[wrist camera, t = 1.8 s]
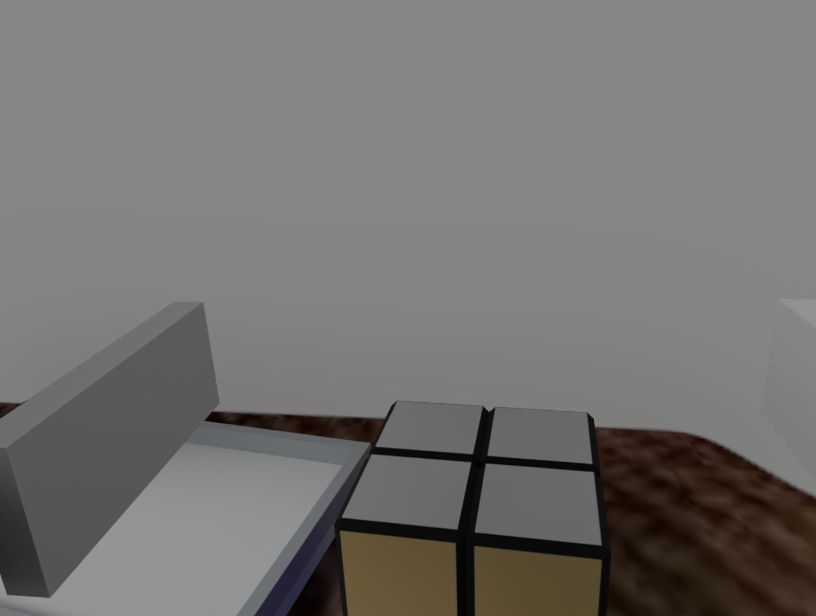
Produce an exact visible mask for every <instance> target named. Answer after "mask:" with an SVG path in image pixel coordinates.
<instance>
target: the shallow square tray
mask: <svg viewBox="0 0 816 616" xmlns="http://www.w3.org/2000/svg"><path fill="white" fill-rule="evenodd" d="M370 449H371V443H366V442H358V441H350V440H343V439H335V438H328V437H320V436H313V435H305V434H298V433H290V432H282V431H275V430H267V429H260V428H252V427H245V426H237V425H230V424H222V423H214V422H207V421H203V422H202V424H201V425H200V426H199V427H198V428H197V429H196V430H195V432H194V433H193V434H192V435H191V436H190V437H189V439H188V440H187V441H186V442H185V443H184V444H183V445H182V447H181V448H180V449H179V450H178V451H177V452H176V454H175V455H174V456H173V457H172V458H171V459H170V460H169V462H168V463H167V464H166V465H165V466H164V467H163V469H162V470H161V471H160V472H159V473H158V474H157V475H156V477H155V478H154V479H153V480H152V481H151V482H150V484H149V485H148V486H147V487H146V488H145V489H144V490H143V492H142V493H141V494H140V495H139V496H138V497H137V498H136V500H135V501H134V502H133V503H132V504H131V505H130V507H129V508H128V509H127V510H126V511H125V512H124V513H123V515H122V516H121V517H120V518H119V519H118V520H117V522H116V523H115V524H114V525H113V526H112V527H111V528H110V530H109V531H108V532H107V533H106V534H105V535H104V537H103V538H102V539H101V540H100V541H99V542H98V543H97V545H96V546H95V547H94V548H93V549H92V550H91V552H90V553H89V554H88V555H87V556H86V557H85V558H84V560H83V561H82V562H81V563H80V564H79V565H78V566H77V568H76V569H75V570H74V571H73V572H72V573H71V575H70V576H69V577H68V578H67V579H66V580H65V581H64V583H63V584H62V585H61V586H60V587H59V588H58V590H57V591H56V592H55V593H54V594H53V595H52V596H51V598H43V597H28V596H13V595H7V594H6V591H5V587H4V584H3V581H2V578H1V575H0V616H286V615H287V614H288V612H289V611H290V609H291V607H292V606H293V604H294V602H295V601H296V599H297V598H298V596H299V594H300V593H301V591H302V589H303V588H304V586H305V585H306V583H307V581H308V580H309V578H310V576H311V575H312V573H313V572H314V570H315V568H316V567H317V565H318V564H319V562H320V560H321V559H322V557H323V555H324V554H325V552H326V551H327V549H328V547H329V546H330V544H331V542H332V541H333V539H334V538H335V529H334V523H335V521H336V519H337V517H338V515H339V513H340V511H341V509H342V506H343V504H344V502H345V500H346V498H347V496H348V494H349V492H350V490H351V488H352V486H353V484H354V482H355V480H356V478H357V476H358V474H359V472H360V469H361V467H362V465H363V463H364V461H365V460H366V459H367V458H368V457H369V451H370Z"/></svg>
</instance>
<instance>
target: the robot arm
mask: <svg viewBox="0 0 816 616" xmlns="http://www.w3.org/2000/svg"><path fill="white" fill-rule="evenodd" d="M218 404H219V397H218V391H217V385H216V379H215V372H214V366H213V360H212V354H211V348H210V341H209V335H208V330H207V323H206V317H205V311H204V305H203V302H173V303H171V304H170V305H168V306H167V307H166V308H164V309H163V310H161V311H160V312H158V313H157V314H155V315H154V316H152V317H151V318H149V319H148V320H146V321H145V322H143V323H142V324H140V325H139V326H137V327H136V328H134V329H133V330H131V331H130V332H128V333H127V334H126V335H124V336H123V337H121V338H120V339H118V340H117V341H115V342H114V343H112V344H111V345H109V346H108V347H106V348H105V349H103V350H102V351H100V352H99V353H97V354H96V355H94V356H93V357H91V358H90V359H88V360H87V361H85V362H84V363H82V364H81V365H79V366H78V367H76V368H75V369H73V370H72V371H71V372H69V373H68V374H66V375H65V376H63V377H62V378H60V379H59V380H57V381H56V382H54V383H53V384H51V385H50V386H48V387H47V388H45V389H44V390H42V391H41V392H40V393H38V394H36V395H35V396H33V397H32V398H30V399H29V400H27V401H25V402H23V403H22V404H20V405H19V406H17V407H16V408H14V409H13V410H11V411H10V412H8V413H7V414H5V415H4V417H2V418H0V575H1V578H2V581H3V584H4V587H5V591H6V594H7V595H13V596H28V597H43V598H51V596H52V595H53V594H54V593H55V592H56V591H57V590H58V588H59V587H60V586H61V585H62V584H63V583H64V581H65V580H66V579H67V578H68V577H69V576H70V575H71V573H72V572H73V571H74V570H75V569H76V568H77V566H78V565H79V564H80V563H81V562H82V561H83V560H84V558H85V557H86V556H87V555H88V554H89V553H90V552H91V550H92V549H93V548H94V547H95V546H96V545H97V543H98V542H99V541H100V540H101V539H102V538H103V537H104V535H105V534H106V533H107V532H108V531H109V530H110V528H111V527H112V526H113V525H114V524H115V523H116V522H117V520H118V519H119V518H120V517H121V516H122V515H123V513H124V512H125V511H126V510H127V509H128V508H129V507H130V505H131V504H132V503H133V502H134V501H135V500H136V498H137V497H138V496H139V495H140V494H141V493H142V492H143V490H144V489H145V488H146V487H147V486H148V485H149V484H150V482H151V481H152V480H153V479H154V478H155V477H156V475H157V474H158V473H159V472H160V471H161V470H162V469H163V467H164V466H165V465H166V464H167V463H168V462H169V460H170V459H171V458H172V457H173V456H174V455H175V454H176V452H177V451H178V450H179V449H180V448H181V447H182V445H183V444H184V443H185V442H186V441H187V440H188V439H189V437H190V436H191V435H192V434H193V433H194V432H195V430H196V429H197V428H198V427H199V426H200V425H201V424H202V422H203V421H204V420H205V419H206V418H207V417H208V416H209V414H210V413H211V412H212V411H213V410H214V409H215V407H216V406H217V405H218ZM761 413H762V415H763V416H764V417H765V418H766V420H767V421H768V422H769V423H770V425H771V426H772V427H773V428H774V429H775V431H776V432H777V433H778V434H779V436H780V437H781V438H782V439H783V441H784V442H785V443H786V444H787V446H788V447H789V448H790V449H791V450H792V452H793V453H794V454H795V455H796V456H797V458H798V459H799V460H800V461H801V463H802V464H803V465H804V466H805V468H806V469H807V470H808V471H809V473H810V474H811V475H812V476H813V477H814V479H815V480H816V299H785V300H784V299H782V300H781V299H780V300H778V305H777V312H776V319H775V325H774V332H773V338H772V345H771V352H770V358H769V365H768V371H767V378H766V384H765V391H764V398H763V404H762V411H761Z"/></svg>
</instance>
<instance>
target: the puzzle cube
mask: <svg viewBox="0 0 816 616" xmlns="http://www.w3.org/2000/svg"><path fill="white" fill-rule="evenodd" d="M334 529H335V540H336V550H337V560H338V570H339V580H340V590H341V600H342V611H343V615H344V616H606V611H607V599H608V586H609V573H610V561H611V550H610V542H609V534H608V526H607V518H606V511H605V503H604V495H603V487H602V479H600V464H599V456H598V449H597V441H596V433H595V425H594V419H593V418H592V417H591V416H590V415H589V414H588V413H586V412H569V411H553V410H538V409H522V408H504V407H495V408H494V409H492V410H491V411H490V412H488V411H487V410H486V409H485V408H484V407H483V406H474V405H458V404H457V405H456V404H441V403H425V402H408V401H396V402H395V403H394V404H393V405H392V406H391V408H390V410H389V412H388V414H387V416H386V418H385V420H384V422H383V424H382V426H381V428H380V430H379V433H378V435H377V437H376V439H375V441H374V443H373V445H372V447H371V449H370V451H369V457H368V458H367V459H366V460H365V461H364V463H363V465H362V467H361V469H360V472H359V474H358V476H357V478H356V480H355V482H354V484H353V486H352V488H351V490H350V492H349V494H348V496H347V498H346V500H345V502H344V504H343V506H342V509H341V511H340V513H339V515H338V517H337V519H336V521H335V523H334Z"/></svg>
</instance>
